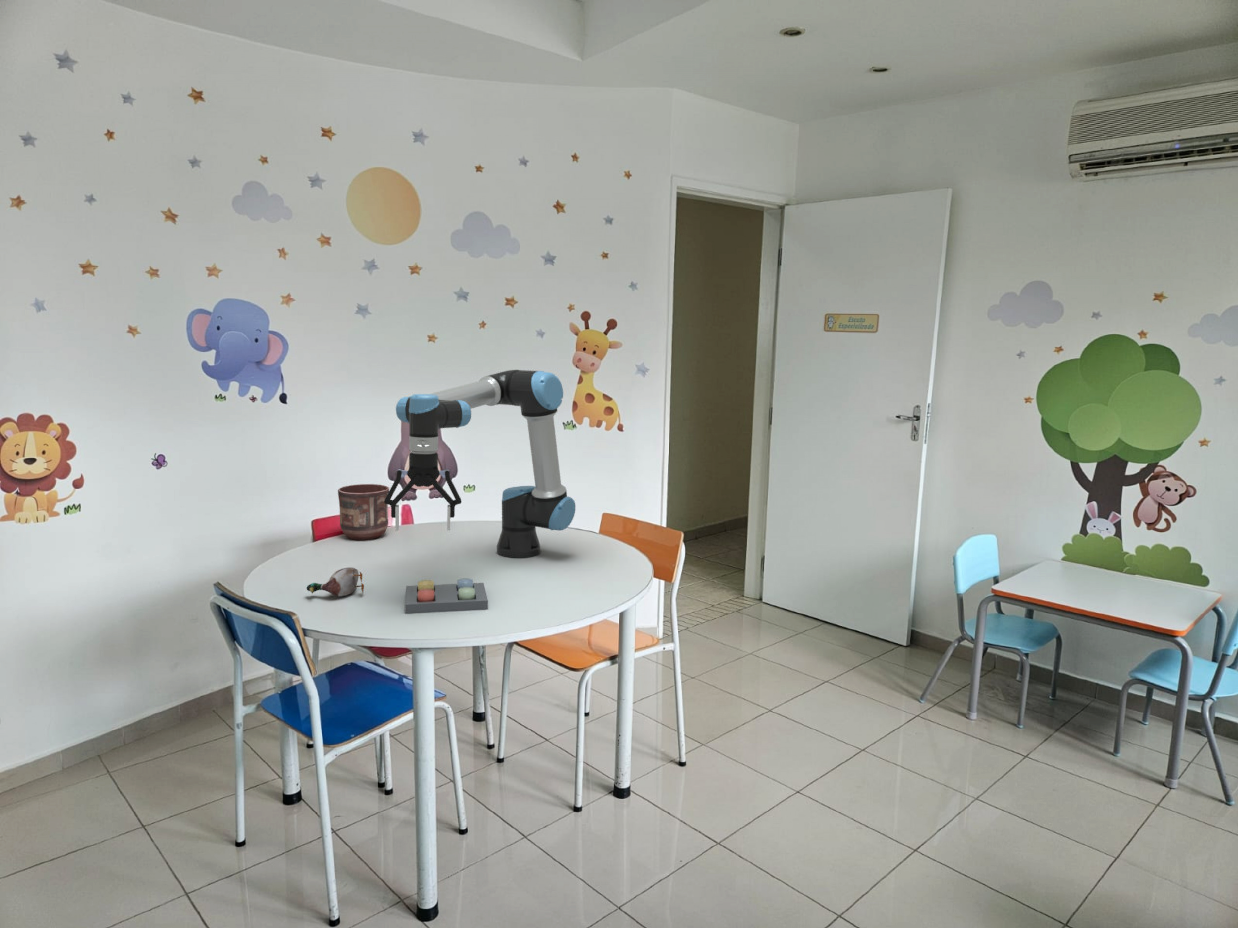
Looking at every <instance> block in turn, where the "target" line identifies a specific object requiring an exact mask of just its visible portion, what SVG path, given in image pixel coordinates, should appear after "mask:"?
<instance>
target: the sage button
mask: <svg viewBox="0 0 1238 928" xmlns="http://www.w3.org/2000/svg"><path fill="white" fill-rule="evenodd" d="M474 599H475V589H474V588H472V587H463V588H460V589H459V600H474Z"/></svg>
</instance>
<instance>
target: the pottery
mask: <svg viewBox="0 0 1238 928" xmlns="http://www.w3.org/2000/svg"><path fill="white" fill-rule="evenodd" d="M389 491H390V487H389V486H386V485H383V484H374V483H363V484H362V483H361V484H351V485H345V486H342V487H339V488H338V489H337V496H338V504H339V526H340V529H341V531H342V533H343V534H344V536H345V537H347V539H349V540H353V541H372V540H375V539H378V538H380V537H381V536H383V535H384V533H385V532H386V530H387V528H388V526H389V511H388V510H389V505H388V504H385V503H384V500H385V498H386V496H387V494H388V492H389Z"/></svg>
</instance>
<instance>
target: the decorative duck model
mask: <svg viewBox="0 0 1238 928" xmlns="http://www.w3.org/2000/svg"><path fill="white" fill-rule="evenodd" d="M359 579H360V583H361V585H358V581H359ZM362 581H363V573H362V571H359V570H358V569H356V568H355V567H344V568H340V569H337V570H336V571H334V573H332V575H331V576H330V578H329V579H328V581H327V582H326V583H318V582H312V583H309V584H308V585H307V586H306V590H307V591H308V592H311V594H313V593H315V592H317V591H325V592H328V594H329V593H330V594H332V595H333V596H335V597H345V596H348V595H351V594H352V593H354V591H355V590H356V588H359V587H361V588H360V589H361V593H362V594H364V589H365V585H364V583H362Z"/></svg>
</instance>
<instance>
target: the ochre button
mask: <svg viewBox="0 0 1238 928" xmlns="http://www.w3.org/2000/svg"><path fill="white" fill-rule="evenodd" d="M434 585H435V581H434V580H430V579H422V580H420V581H419V580H418V582H417V586H418V591H419V590H422V589H432V590H434Z"/></svg>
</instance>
